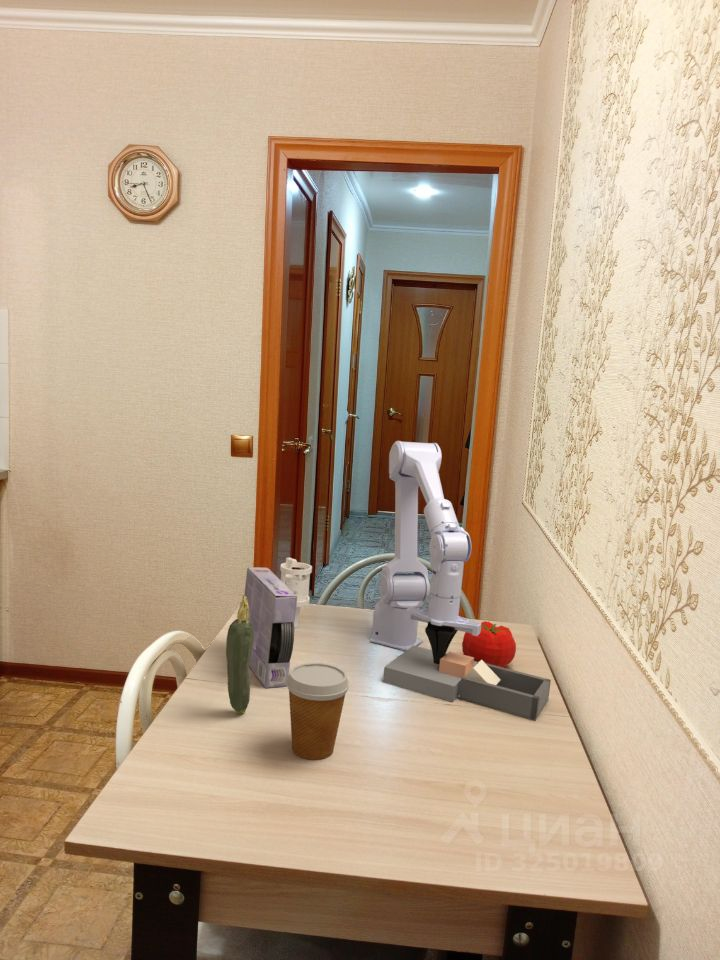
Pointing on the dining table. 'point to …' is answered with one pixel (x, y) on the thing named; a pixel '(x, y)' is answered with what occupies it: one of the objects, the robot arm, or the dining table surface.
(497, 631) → the tomato
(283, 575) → the strainer
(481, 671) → the tile cream
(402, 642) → the robot arm
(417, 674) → the slate board
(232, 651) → the vegetable
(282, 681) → the cake pan box
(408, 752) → the dining table surface
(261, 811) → the dining table surface
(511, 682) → the box
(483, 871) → the dining table surface
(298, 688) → the disposable coffee cup
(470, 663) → the tile terracotta
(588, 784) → the dining table surface
